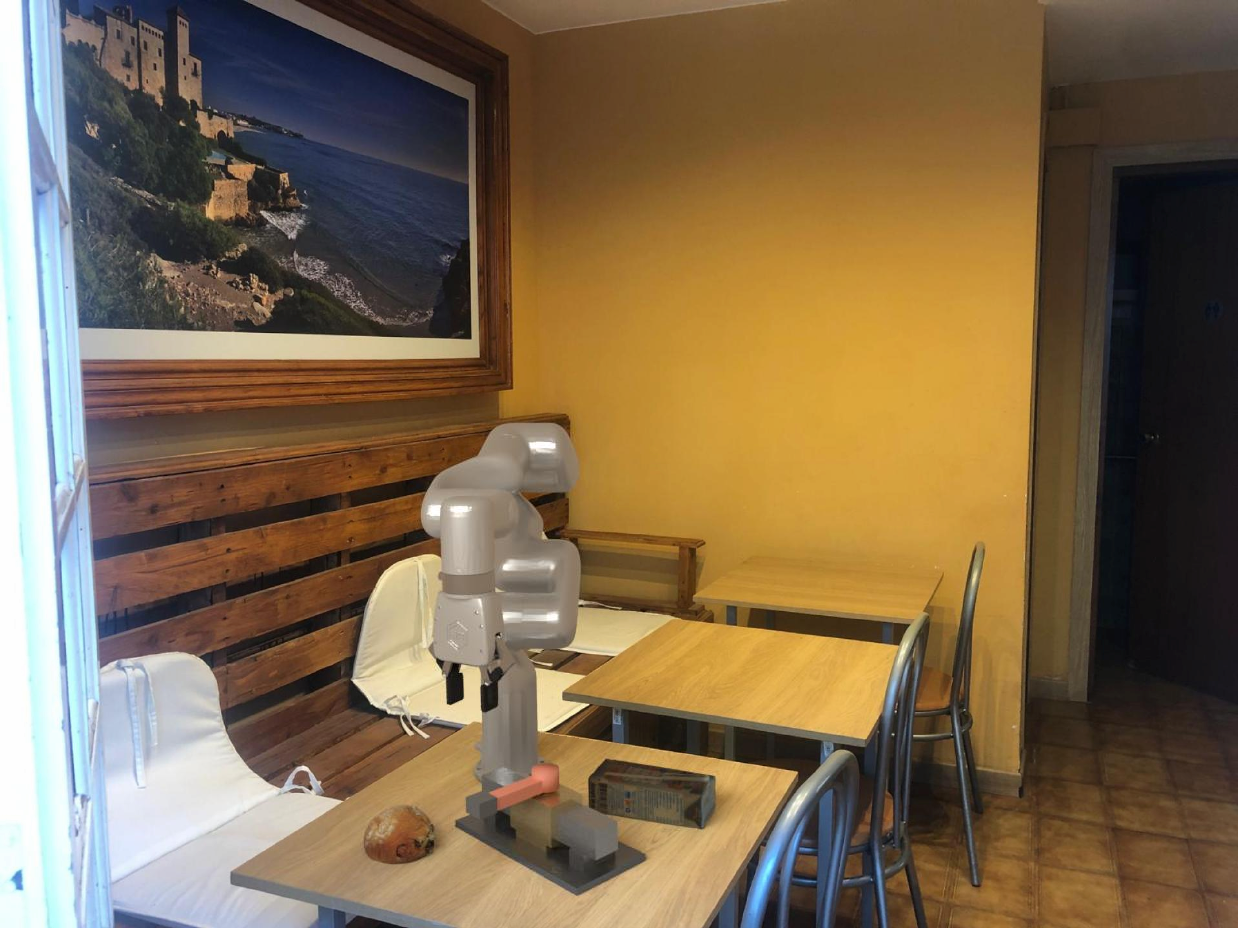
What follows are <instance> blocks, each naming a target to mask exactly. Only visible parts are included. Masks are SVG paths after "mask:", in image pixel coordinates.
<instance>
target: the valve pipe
mask: <svg viewBox="0 0 1238 928" xmlns="http://www.w3.org/2000/svg"><path fill="white" fill-rule="evenodd" d="M481 776H482V781H481V791H483V790H484V791H486V792H487V793H489V792H491V791H494V790H497V789H499V788H502V787H504V786H507V785H510V784H512V783H515V782H517V781H520V780H523V779H525V777H523V776H521V775H518V774H516V773H514V772H512V771H510V770H508V769H506V768H500V769H497V770H495V771H492V772H489V773H487V774H484V775H481ZM454 822H455V823H454V826H455V827H456V828H457V829H459V830H461V831H463V833H465V834H468V835H469V836H471V837H473V838H475V839H476V840H478V841H479V842H481V843H483V844H485V845H487V846H488V847H490V848H492V849H494V850H496V851H498V852H499V853H502V854H503V855H505V856H506V857H508V858H510V859H512V860H514V861H515V862H517V863H518V864H520V865H521V866H523V867H526V868H527V869H529V870H531V871H532V872H535V873H536V874H538V875H540V876H541V877H543V878H545V879H547V880H548V881H550V882H552V883H554V884H556V885H557V886H559V887H561V888H562V889H564V890H566V891H568V892H569V893H571V894H573V895H574V896H579V895H581V894H583V893H585V892H587V891H589V890H591V889H593V888H594V887H597V886H599V885H601V884H603V883H605V882H606V881H608V880H610V879H612V878H614V877H617V876H619V875H620V874H622V873H624V872H626V871H628V870H630V869H632V868H634V867H636V866H638V865H639V864H642V863H644V862H646V853H644V852H642V851H640V850H638V849H636V848H634V847H632V846H630V845H629V844H626V843H623V842H622V841H619V836H618V835H619V829H618V828H619V827H618V825H619V824H618V823H619V821H618V820H617V819H615V818H613V817H610V816H609V815H607V814H602V813H600V812H598V811H596V810H593V809H591V808H589V806H587V805H584V804H583V794H582V793H580V792H578V791H576V790H574V789H572V788H570V787H567V786H565V785H563V784H561V783H559V788H558V789H557V790H556V791H553V792H549V793H541V794H538V795H536V796H533V797H531V798H528V799H526V800H523V801H521V802H518V803H516V804H513V805H511V806H508V807H506V808H504V809H501V810H499V811H497V813H495V814H493V815H490V816H488V817H485V818H483V819H480V820H479V819H478V818H476V817H474V816H472V815H470V814H467V815H465V816H463V817H460V818H458V819H455V820H454Z"/></svg>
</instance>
